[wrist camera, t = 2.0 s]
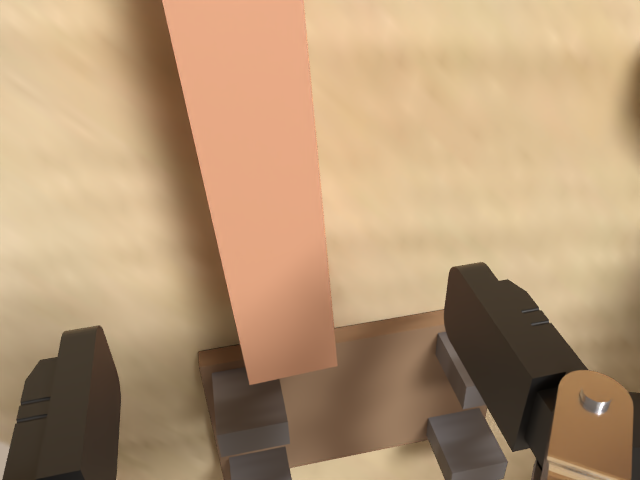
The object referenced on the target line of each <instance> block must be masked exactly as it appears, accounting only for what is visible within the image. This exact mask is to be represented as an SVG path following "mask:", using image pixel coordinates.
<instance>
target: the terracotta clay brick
mask: <svg viewBox="0 0 640 480" xmlns="http://www.w3.org/2000/svg"><path fill="white" fill-rule="evenodd" d="M162 2H163V7H164V11H165V15H166V20H167V24H168V29H169V33H170V37H171V42H172V46H173V51H174V55H175V59H176V64H177V68H178V72H179V77H180V81H181V86H182V90H183V94H184V99H185V103H186V108H187V112H188V116H189V121H190V125H191V130H192V134H193V138H194V143H195V147H196V152H197V156H198V160H199V165H200V169H201V174H202V178H203V182H204V187H205V191H206V196H207V200H208V204H209V209H210V213H211V218H212V222H213V226H214V231H215V235H216V239H217V244H218V248H219V253H220V257H221V261H222V266H223V270H224V275H225V279H226V283H227V288H228V292H229V297H230V301H231V305H232V310H233V314H234V319H235V323H236V327H237V332H238V336H239V341H240V345H241V349H242V354H243V358H244V363H245V367H246V371H247V376H248V380H249V385H252V384H257V383H262V382H266V381H271V380H276V379H280V378H285V377H289V376H294V375H299V374H303V373H308V372H313V371H317V370H322V369H326V368H331V367H336V366H338V365H337V354H336V344H335V333H334V322H333V312H332V301H331V290H330V280H329V269H328V258H327V247H326V237H325V226H324V215H323V205H322V194H321V183H320V173H319V162H318V151H317V140H316V130H315V119H314V108H313V98H312V87H311V76H310V66H309V55H308V44H307V34H306V23H305V12H304V1H303V0H162Z"/></svg>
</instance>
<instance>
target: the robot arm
mask: <svg viewBox="0 0 640 480" xmlns="http://www.w3.org/2000/svg"><path fill="white" fill-rule="evenodd" d="M444 326H445V330H446V333H447V336H448V339H449V341H450V343H451V344H452V346H453V348H454V350H455V351H456V353H457V355H458V357H459V358H460V360H461V362H462V364H463V365H464V367H465V369H466V371H467V372H468V374H469V376H470V378H471V380H472V381H473V383H474V385H475V387H476V388H477V390H478V392H479V394H480V395H481V397H482V399H483V401H484V402H485V404H486V406H487V408H488V410H489V411H490V413H491V415H492V417H493V418H494V420H495V422H496V424H497V425H498V427H499V429H500V431H501V432H502V434H503V436H504V438H505V440H506V441H507V443H508V445H509V447H510V448H511V450H512V452H515V451H519V450H523V449H528V448H530V449H531V450H532V452H533V454H534V455H535V457H536V461H535V464H534V468H533V473H532V479H531V480H640V393H634V392H628V391H627V390H626V389H625V388H624V387H623V386H622V385H621V384H620V383H619V382H617V381H616V380H614V379H613V378H611V377H609V376H607V375H605V374H602V373H599V372H595V371H590V370H588V369H587V368H586V366H585V365H584V364H583V363H582V361H581V360H580V359H579V358H578V356H577V355H576V354H575V352H574V351H573V350H572V349H571V347H570V346H569V345H568V344H567V342H566V341H565V340H564V339H563V337H562V336H561V335H560V333H559V332H558V331H557V330H556V328H555V327H554V326H553V325H552V323H549V320H548V318H547V317H546V316H545V315H544V313H543V312H542V311H540V310H539V307H538V306H537V304H536V303H535V302H534V301H533V299H532V298H531V297H530V296H529V294H528V293H527V292H526V291H525V290H523V289H522V288H520V287H518V286H517V285H515V284H514V283H512V282H511V281H509V280H508V279H507V280H502V281H498V279H497V278H496V277H495V275H494V274H493V273H492V271H491V270H490V269H489V267H488V266H487V265H486V264H485V263H483V262H480V263H474V264H468V265H462V266H456V267H452V268H451V269H450V272H449V277H448V285H447V293H446V300H445V308H444ZM120 406H121V392H120V383H119V378H118V374H117V370H116V367H115V364H114V361H113V358H112V355H111V352H110V349H109V346H108V343H107V340H106V337H105V334H104V331H103V329H102V327H101V326H93V327H87V328H81V329H75V330H69V331H64V332H63V334H62V337H61V342H60V348H59V353H58V357H55V358H49V359H44V360H40V361H39V363H38V364H37V365H36V367H35V368H34V370H33V371H32V372H31V374H30V375H29V376H28V378H27V379H26V381H25V385H24V389H23V393H22V398H21V406H19V411H18V415H17V419H16V420H17V424H15V428H14V432H13V436H12V441H11V445H10V449H9V454H8V458H7V462H6V467H5V471H4V475H3V479H2V480H116V473H117V456H118V440H119V423H120Z"/></svg>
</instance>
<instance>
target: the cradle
mask: <svg viewBox="0 0 640 480" xmlns="http://www.w3.org/2000/svg"><path fill="white" fill-rule="evenodd" d="M334 333H335V344H336V354H337V365H338V366H336V367H331V368H326V369H322V370H317V371H313V372H308V373H303V374H299V375H294V376H289V377H285V378H280V379H276V380H271V381H266V382H262V383H257V384H252V385H249V380H248V376H247V371H246V367H245V363H244V358H243V354H242V349H241V345H235V346H229V347H223V348H217V349H211V350H205V351H199V352H198V354H199V369H200V373H201V378H202V382H203V387H204V391H205V396H206V400H207V405H208V409H209V414H210V418H211V423H212V427H213V432H214V437H215V441H216V446H217V450H218V455H219V459H220V464H221V468H222V473H223V477H224V480H292V479H291V474H290V468H293V467H298V466H302V465H307V464H312V463H317V462H322V461H327V460H332V459H337V458H342V457H346V456H351V455H356V454H361V453H366V452H371V451H376V450H381V449H386V448H391V447H395V446H400V445H405V444H410V443H415V442H420V441H425V440H429V442H430V445H431V447H432V450H433V452H434V454H435V457H436V459H437V461H438V464H439V466H440V469H441V471H442V473H443V476H444V478H445V480H500V479H504V475H505V471H506V467H507V463H508V461H507V459H506V457H505V456H504V454H503V452H502V450H501V448H500V446H499V444H498V442H497V440H496V439H495V437H494V435H493V433H492V431H491V429H490V427H489V425H488V424H487V422H486V420H485V416H486V411H487V406H486V404H485V402H484V401H483V399H482V397H481V395H480V394H479V392H478V390H477V388H476V387H475V385H474V383H473V381H472V380H471V378H470V376H469V374H468V372H467V371H466V369H465V367H464V365H463V364H462V362H461V360H460V358H459V357H458V355H457V353H456V351H455V350H454V348H453V346H452V344H451V343H450V341H449V339H448V336H447V333H446V330H445V326H444V310H439V311H433V312H427V313H422V314H416V315H410V316H404V317H398V318H392V319H387V320H381V321H375V322H369V323H363V324H357V325H351V326H346V327H340V328H334Z"/></svg>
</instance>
